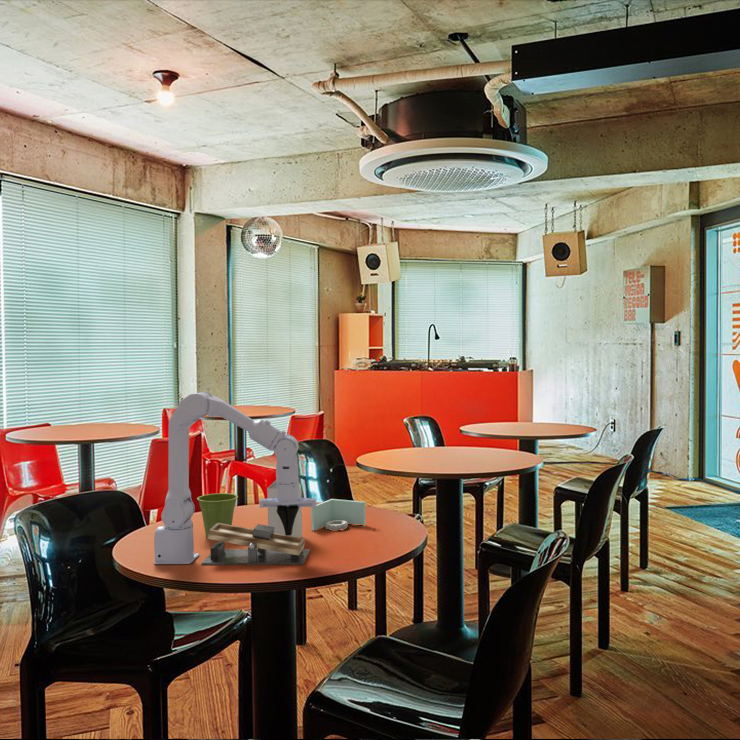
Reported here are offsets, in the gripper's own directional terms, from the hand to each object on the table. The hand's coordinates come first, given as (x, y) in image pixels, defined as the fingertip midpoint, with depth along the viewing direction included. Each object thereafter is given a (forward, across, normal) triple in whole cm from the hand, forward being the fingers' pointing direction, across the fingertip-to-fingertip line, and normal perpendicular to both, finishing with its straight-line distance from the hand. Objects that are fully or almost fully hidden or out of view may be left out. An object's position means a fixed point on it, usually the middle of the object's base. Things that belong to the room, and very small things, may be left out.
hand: (288, 534), depth 177 cm
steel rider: (+1, -7, 0) cm, 7 cm away
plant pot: (+6, -25, +23) cm, 35 cm away
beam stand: (+6, -8, 0) cm, 10 cm away
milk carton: (+6, -4, +18) cm, 20 cm away
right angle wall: (+6, +10, +30) cm, 32 cm away
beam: (+2, -8, 0) cm, 9 cm away
